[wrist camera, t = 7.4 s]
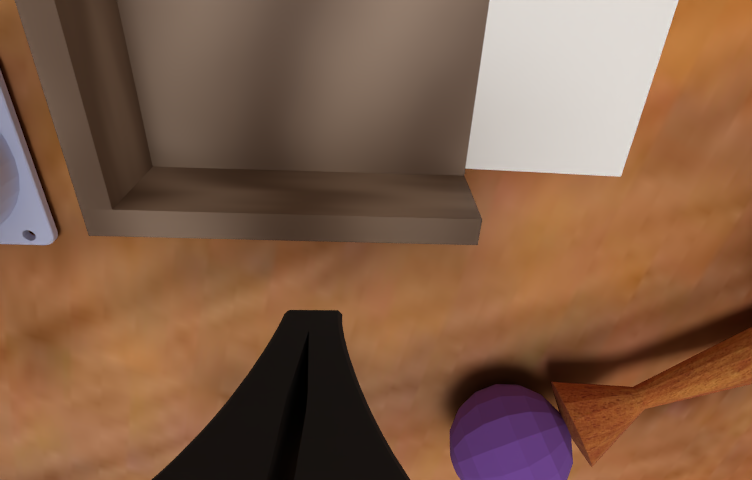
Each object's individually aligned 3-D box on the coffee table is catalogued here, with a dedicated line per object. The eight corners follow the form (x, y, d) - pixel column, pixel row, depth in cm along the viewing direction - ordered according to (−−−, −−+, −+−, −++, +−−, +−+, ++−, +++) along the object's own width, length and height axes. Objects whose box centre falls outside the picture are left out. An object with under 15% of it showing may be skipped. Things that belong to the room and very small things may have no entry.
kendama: (900, 404, 22) (488, 543, 25) (794, 308, 27) (455, 434, 30) (947, 333, 18) (454, 506, 21) (813, 235, 23) (422, 388, 26)
